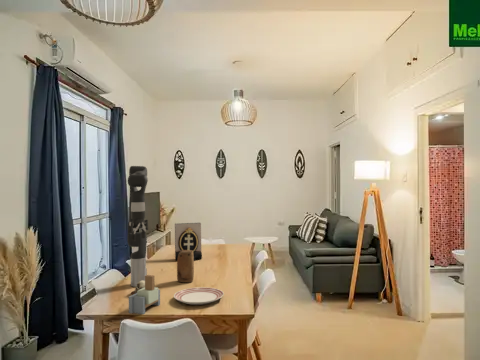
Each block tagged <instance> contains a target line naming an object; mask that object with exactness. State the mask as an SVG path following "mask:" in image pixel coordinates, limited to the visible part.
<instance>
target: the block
mask: <svg viewBox="0 0 480 360" xmlns="http://www.w3.org/2000/svg"><path fill="white" fill-rule="evenodd" d="M194 273H195V260H194V255H193V251H192V250H182V251H180V252H179V254H178V259H177V261H176V279H177V282H179V283H180V282H181V283H192V282H193V281H194Z"/></svg>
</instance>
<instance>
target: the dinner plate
mask: <svg viewBox="0 0 480 360" xmlns="http://www.w3.org/2000/svg"><path fill="white" fill-rule="evenodd" d="M224 295H225V293H224V291H223V290H221V289H218V288H214V287H203V286H202V287H199V286H198V287H190V288H184V289H181V290H179V291H176V292H175V293H174V294H173V298H174V299H175V300H177V301H178V302H180V303H184V304H187V305H191V306H192V305H193V306H200V305H208V304H211V303H213V302H216V301H218V300H220V299H221V298H222V297H223V296H224Z"/></svg>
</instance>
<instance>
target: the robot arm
mask: <svg viewBox="0 0 480 360" xmlns="http://www.w3.org/2000/svg"><path fill="white" fill-rule="evenodd" d="M128 174H129V175H128V177H127V184H128V187H129V200H128V201H129V202H128V205H129V206H128V223H127V244H128V245H127V246H129V247H130V248H137V250H136V251H134V252H132V253H130V286H131V287H133V288H135V287H136V286H137V283H138V282H140V281H142V280H144V281H145V276H146V275H148V272H147V271H148V270H147V262H146V261H147V260H146V257H147V255H146V254H147V242H148V241H147V238H148V237H147V234H146V232H147V231H148V230H149V223H148V221H149V220H148V219H146V204H145V193H146V189H147V186H148V181H149V178H148V169H147V167H146V166H143V165H131V166H130V167H129V169H128ZM138 188H140V189H138ZM138 230H140V231H141V232H140V231H138Z"/></svg>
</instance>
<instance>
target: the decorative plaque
mask: <svg viewBox="0 0 480 360" xmlns="http://www.w3.org/2000/svg"><path fill="white" fill-rule="evenodd" d="M182 250H192V251H193V255H194V261H197V260H202V259H203V254H202V252H203V251H202V223H201V222H184V223H183V222H182V223H179V222H178V223H174V255H175V256H174V257H175V261H176V262H177V259H178V254H179V252H180V251H182Z"/></svg>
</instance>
